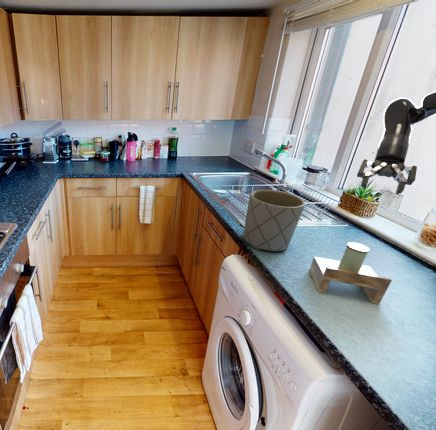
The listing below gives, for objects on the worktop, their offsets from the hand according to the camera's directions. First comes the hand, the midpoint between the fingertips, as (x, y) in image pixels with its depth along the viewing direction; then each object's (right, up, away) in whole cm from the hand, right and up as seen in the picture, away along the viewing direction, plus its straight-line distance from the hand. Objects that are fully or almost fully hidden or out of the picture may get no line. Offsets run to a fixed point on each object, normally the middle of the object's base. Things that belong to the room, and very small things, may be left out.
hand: (380, 190), depth 95 cm
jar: (-14, -26, -4) cm, 30 cm away
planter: (-26, -20, +24) cm, 41 cm away
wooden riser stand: (-14, -32, -1) cm, 35 cm away
